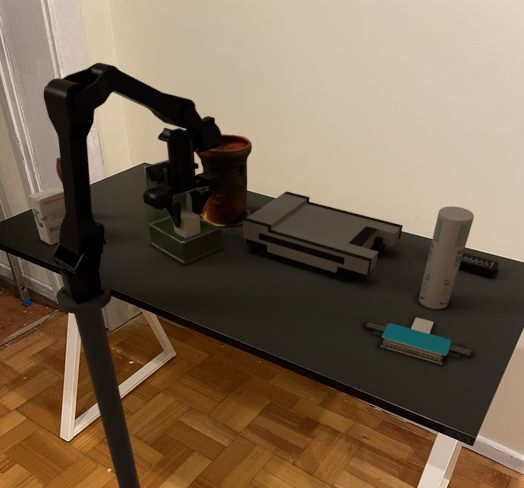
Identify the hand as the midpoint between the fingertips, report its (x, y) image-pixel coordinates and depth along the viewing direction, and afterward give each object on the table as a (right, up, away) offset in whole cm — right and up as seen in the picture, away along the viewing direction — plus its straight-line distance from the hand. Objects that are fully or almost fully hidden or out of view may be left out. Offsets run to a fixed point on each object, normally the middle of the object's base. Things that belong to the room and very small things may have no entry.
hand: (186, 224), depth 124 cm
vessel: (+8, +7, +19) cm, 22 cm away
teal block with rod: (+48, -28, -23) cm, 60 cm away
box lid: (-5, +8, 0) cm, 9 cm away
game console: (+32, -6, +4) cm, 33 cm away
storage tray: (-1, -5, +5) cm, 7 cm away
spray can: (+55, -20, -12) cm, 59 cm away
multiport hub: (+66, -10, 0) cm, 67 cm away
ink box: (-33, -1, +8) cm, 34 cm away
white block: (0, -2, +1) cm, 2 cm away
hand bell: (-33, +6, +17) cm, 38 cm away
